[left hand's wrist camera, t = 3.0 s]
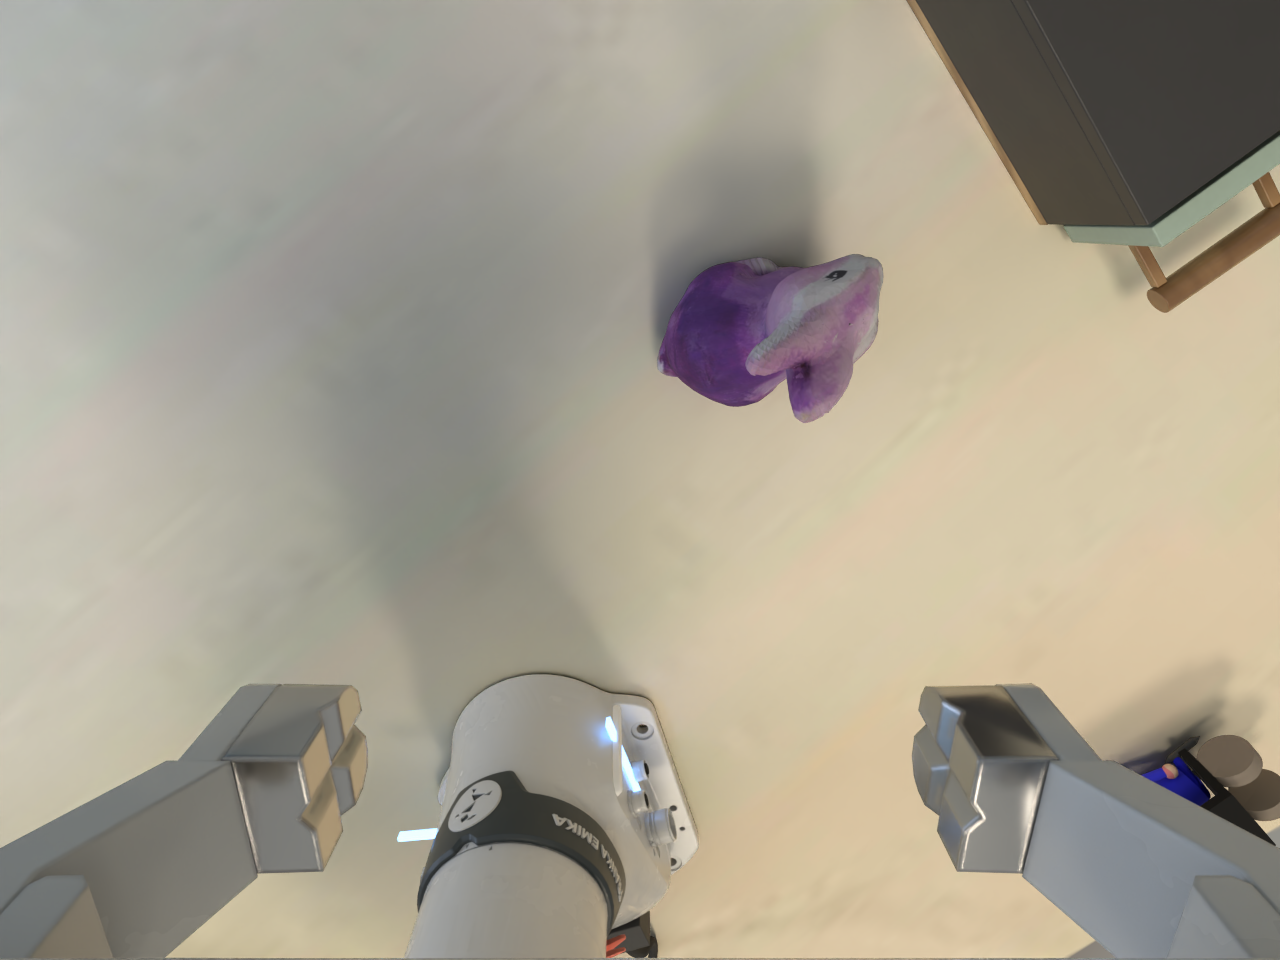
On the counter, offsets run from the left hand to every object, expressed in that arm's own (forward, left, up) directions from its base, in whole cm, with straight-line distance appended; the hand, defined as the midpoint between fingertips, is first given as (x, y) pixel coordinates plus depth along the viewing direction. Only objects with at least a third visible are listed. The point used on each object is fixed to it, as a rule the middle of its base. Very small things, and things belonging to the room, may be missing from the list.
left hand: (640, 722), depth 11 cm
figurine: (-2, -6, -38) cm, 38 cm away
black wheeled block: (-50, -19, -38) cm, 65 cm away
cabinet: (+5, -27, -38) cm, 47 cm away
